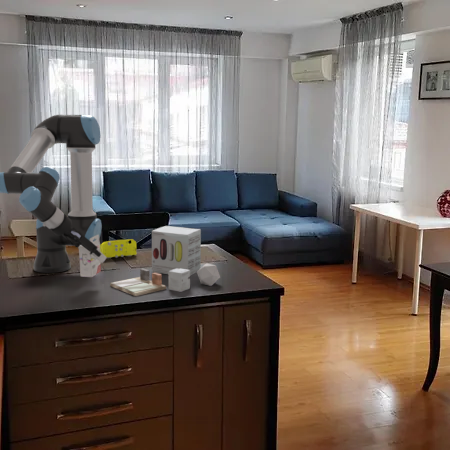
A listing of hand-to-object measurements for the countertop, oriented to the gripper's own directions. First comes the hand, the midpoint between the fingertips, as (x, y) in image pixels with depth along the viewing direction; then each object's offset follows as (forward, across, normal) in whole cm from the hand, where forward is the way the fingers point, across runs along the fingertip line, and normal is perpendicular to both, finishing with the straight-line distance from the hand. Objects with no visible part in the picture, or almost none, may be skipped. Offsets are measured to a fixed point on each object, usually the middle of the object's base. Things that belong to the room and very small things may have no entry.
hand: (97, 257), depth 222 cm
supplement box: (+35, +1, +18) cm, 39 cm away
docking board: (+16, +10, 0) cm, 19 cm away
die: (+33, +24, +16) cm, 44 cm away
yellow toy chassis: (+32, -38, +14) cm, 52 cm away
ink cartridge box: (+2, 0, -7) cm, 7 cm away
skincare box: (+24, +22, +7) cm, 33 cm away
